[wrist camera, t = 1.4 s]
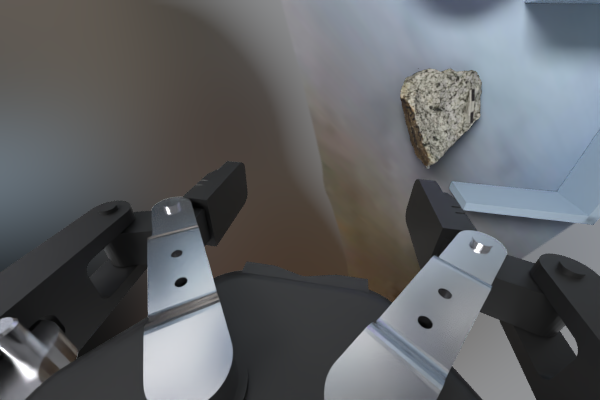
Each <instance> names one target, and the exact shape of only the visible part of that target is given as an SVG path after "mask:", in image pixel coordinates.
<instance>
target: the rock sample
mask: <svg viewBox="0 0 600 400" xmlns="http://www.w3.org/2000/svg"><path fill="white" fill-rule="evenodd" d="M418 69H419V68H418ZM481 84H482V82H481V80H480V78H479V75H477V72H476V71H472V70H470V71H460V72H455V71H454V70H452V69H447V70H445V71H442V72H439V71H438V70H436V69H430V68H429V69H426V70H423V71H419V72H417V73H415V74H413V75H412V76H410V77H407V78H406V79H405V81H404V84H403V86H402V89H401V91H400V92H401V95H400V98H401V101H402V107H403V111H404V114H405V120H406V125H407V127H408V131H409V134H410V141H411V143H412V146H413V148H414V150H415V154H416V156H417V158H419V159H420V160H421V161H422V163H423V164H424V165H425V166H427V167H425V168H427V169H429V168H430V165H433V164H434V163H436V162H438V160H439V159H440V158H441V157H442V156H443V155H444V154H445V153H446V152H447V151H448V149H449V148H450V147H452V146H453V145H454V143H455V142H456V141H457V140H458V139H459V138H460V137H461V136H462V135H463V134H464V133H466V132H467V131H468V130H469V129H470V127H471V126H472V125H473V123H474V122H475V121H476V120H478V119H479V118H480V95H481V92H482V91H481Z"/></svg>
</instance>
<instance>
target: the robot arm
mask: <svg viewBox="0 0 600 400" xmlns="http://www.w3.org/2000/svg"><path fill="white" fill-rule="evenodd" d="M246 199H247V184H246V174H245V166H244V164H243V163H241V162H229V161H227V162H226V163H225V164H224V165H223V166H222V167H221V168H219V169H218V170H215V171H213V172H211V173H209V174H207V175H206V176H205V177H204V178H203V179H202V180H201V181H199V182H198V183H197V185H195V186H194V187H193V188H192V189H191V190H189V191H188V192H187V193H186V194H185V195H184V196H183V197H172V198H168V199H164V200H162V201H160V202H158V203H157V204H156V205H154V206H153V208H152V211H141V212H133V210H132V207H131V205H130V204H129V203H128V202H126V201H111V202H107V203H104V204H101V205H99V206H96V207H94V208H93V209H91V210H90V211H88V212H87V213H86V214H84V215H83V216H81V217H80V218H78V219H77V220H75V221H74V222H73V223H71V224H70V225H68V226H67V227H65V228H64V229H63V230H61V231H60V232H58V233H57V234H55V235H54V236H52V237H51V238H49V239H48V240H47V241H45V242H44V243H42V244H41V245H40V246H38V247H36V248H35V249H34V250H32V251H31V252H29V253H28V254H26V255H25V256H24V257H22V258H21V259H19V260H18V261H16V262H15V263H13V264H12V265H11V266H9V267H8V268H6V269H5V270H3V271H2V272H0V400H482V399H481V398H480V396H479V395H478V394H477V393H476V392H475V391H474V390H473V389H472V388H471V386H470V385H469V384H468V383H467V382H466V381H465V380H464V379H463V378H462V377H461V375H460V374H459V373H458V372H457V371H456V370H455V369H454V368H453V367H452V365H453V363H454V361H455V359H456V357H457V355H458V353H459V351H460V349H461V347H462V345H463V343H464V341H465V339H466V337H467V335H468V333H469V331H470V329H471V327H472V325H473V324H474V322H475V320H476V318H477V316H478V314H479V312H482V313H484V314H487V315H489V316H491V317H494V318H496V319H499V320H500V323H501V325H502V327H503V329H504V331H505V333H506V336H507V338H508V340H509V342H510V344H511V346H512V348H513V350H514V353H515V355H516V357H517V359H518V361H519V363H520V365H521V368H522V370H523V372H524V374H525V376H526V378H527V381H528V383H529V385H530V387H531V389H532V391H533V393H534V396H535V398H536V400H600V276H599V275H598V274H596V273H595V272H594V271H593V270H591V269H590V268H588V267H587V266H585V265H583V264H582V263H580V262H578V261H575V260H573V259H571V258H568V257H565V256H562V255H557V254H544V255H541V256H540V258H539V259H538V260H537V262H536V263H532V262H528V261H525V260H522V259H519V258H515V257H512V256H509V255H507V250H506V248H505V247H504V246H503V245H502V243H500V242H499V241H498V240H496V239H495V238H493V237H491V236H489V235H487V234H484V233H481V232H478V231H477V230H476V228H475V227H474V225H473V224H472V222H471V221H470V219H469V218H468V216H467V215H465V212H464V210H463V209H462V208H461V206H460V204H459V203H458V201H457V200H456V199H455V198H453V197H452V196H451V195H449V194H448V193H444V192H442V190H441V188H440V187H439V185H438V184H437V182H436V181H433V180H422V179H417V180H416V181H415V183H414V186H413V189H412V192H411V196H410V199H409V202H408V206H407V209H406V223H407V227H408V230H409V233H410V236H411V240H412V243H413V246H414V249H415V253H416V256H417V259H418V262H419V266H420V269H421V271H420V272H419V273H418V274H417V275H416V276H415V278H414V279H413V280H412V281H411V282H410V283H409V284H408V286H407V287H406V288H405V289H404V290H403V291H402V292H401V294H400V295H399V296H398V297H397V298H396V299H395V300H394V302H393V303H392V302H391V301H389V300H388V299H386V298H385V297H383V296H381V295H380V294H378V293H375V292H373V291H371V290H368V279H362V278H355V277H348V276H341V275H326V276H325V275H324V276H308V277H306V276H301V275H298V274H295V273H293V272H290V271H288V270H285V269H282V268H280V267H277V266H273V265H266V264H260V263H252V262H246V264H245V266H244V268H243V270H242V271H234V272H230V273H226V274H223V275H220V276H217V277H215V278H213V276H212V273H211V269H210V266H209V262H208V259H207V255H206V252H205V248H204V247H205V245H210V246H217V245H218V243H219V242H220V240H221V239H222V237H223V236H224V234H225V233H226V231H227V230H228V228H229V227H230V225H231V223H232V222H233V221H234V219H235V218H236V216H237V214H238V213H239V211H240V210H241V208H242V207H243V205H244V204H245V202H246ZM102 249H104V250H105V252H106V254H107V256H108V257H109V259H108V260H107V261H106V262H105V263H104V264H103V265H102V266H101V267H100V268H99V269H98V270H97V271H96V272H95V273H94V274H93V275H92V276H91V277H90V278H89V277H88V275H87V266H88V264H89V262H90V261H91V260H92V259H93V258H94V257H95V256H96V255H97V254H98V253H99V252H100V251H101V250H102ZM147 268H148V317H147V318H145V319H144V320H142V321H140V322H139V323H137V324H135V325H133V326H132V327H130V328H128V329H127V330H125V331H123V332H122V333H120V334H118V335H117V336H115V337H114V338H112V339H110V340H108V341H106V342H105V343H103V344H101V345H100V346H98V347H96V348H95V349H93V350H91V351H90V352H88V353H86V354H85V355H83V356H81V357H80V358H78V359H77V355H78V352H79V351H80V349H81V348H82V347H83V346H84V345H85V343H86V342H87V341H88V340H89V338H90V337H91V336H92V335H93V334H94V332H95V331H96V330H97V329H98V327H99V326H100V325H101V324H102V322H103V321H104V320H105V319H106V318H107V316H108V315H109V314H110V313H111V312H112V310H113V309H114V308H115V307H116V305H117V304H118V303H119V302H120V300H121V299H122V298H123V297H124V296H125V295H126V293H127V292H128V291H129V289H130V288H131V287H132V286H133V285H134V283H135V282H136V281H137V280H138V279H139V277H140V276H141V275H142V274H143V272H144V271H145V270H146V269H147ZM565 325H566V326H567V328H568V329H569V331H570V332H571V334H572V335H573V337H574V338H575V340H576V342H577V346H578V355H577V356H576V355H575V353H574V352H573V350H572V349H571V347H570V346H569V344H568V343H567V341H566V340H565V338H564V337H563V335H562V334H561V332H560V330H561V329H562V328H563V327H564V326H565Z"/></svg>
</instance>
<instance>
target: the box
mask: <svg viewBox="0 0 600 400" xmlns="http://www.w3.org/2000/svg"><path fill="white" fill-rule="evenodd" d="M525 3H593V4H600V0H526V1H525ZM449 189H450V190H451V192H452V194H453V195H454V197H455V198H456V200H457V201H458V203H459V204H460V206H461V208H462V209H463V210H467V211H476V212H485V213H494V214H503V215H511V216H520V217H529V218H538V219H547V220H556V221H564V222H573V223H582V224H591V225H594V224H595V222H596V221H597V220H598V219H599V218H600V130H599V132H598V133H597V135H596V136H595V137H594V139H593V140H592V142H591V143H590V145H589V146H588V148H587V149H586V150H585V152H584V153H583V155H582V156H581V158H580V159H579V161H578V162H577V163H576V165H575V166H574V168H573V169H572V171H571V172H570V174H569V175H568V177H567V178H566V179H565V181H564V182H563V184H562V185H561V187H560V188H559V190H558V191H557V192H554V191H544V190H534V189H524V188H514V187H504V186H494V185H484V184H474V183H463V182H453V181H452V182H451V184H450V187H449Z"/></svg>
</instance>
